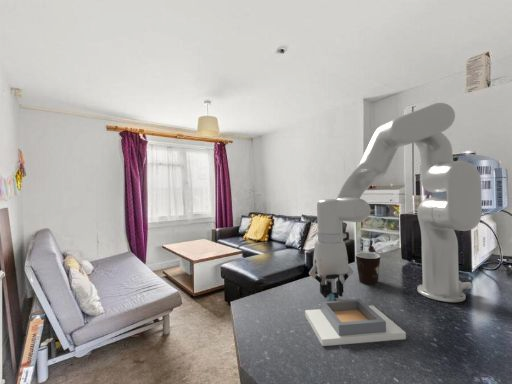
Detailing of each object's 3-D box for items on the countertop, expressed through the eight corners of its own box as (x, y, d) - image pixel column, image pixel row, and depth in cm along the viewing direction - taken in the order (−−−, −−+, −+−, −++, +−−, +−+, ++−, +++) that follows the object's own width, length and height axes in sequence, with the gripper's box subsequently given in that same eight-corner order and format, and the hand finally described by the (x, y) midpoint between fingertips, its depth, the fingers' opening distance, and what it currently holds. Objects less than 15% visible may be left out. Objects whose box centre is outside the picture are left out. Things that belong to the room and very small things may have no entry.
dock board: (372, 310, 72) (372, 296, 72) (405, 338, 58) (405, 321, 58) (305, 315, 71) (304, 301, 71) (322, 346, 57) (321, 328, 57)
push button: (346, 303, 77) (345, 271, 77) (331, 306, 75) (330, 273, 75) (332, 295, 84) (331, 265, 84) (318, 298, 82) (317, 267, 82)
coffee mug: (369, 276, 100) (368, 251, 100) (386, 284, 92) (385, 256, 92) (344, 280, 96) (343, 254, 96) (360, 288, 88) (359, 260, 88)
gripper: (350, 234, 84) (351, 289, 84) (300, 237, 82) (302, 292, 83) (361, 239, 76) (363, 298, 76) (307, 241, 75) (309, 302, 75)
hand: (331, 294), depth 79 cm, fingers open, 4 cm apart
